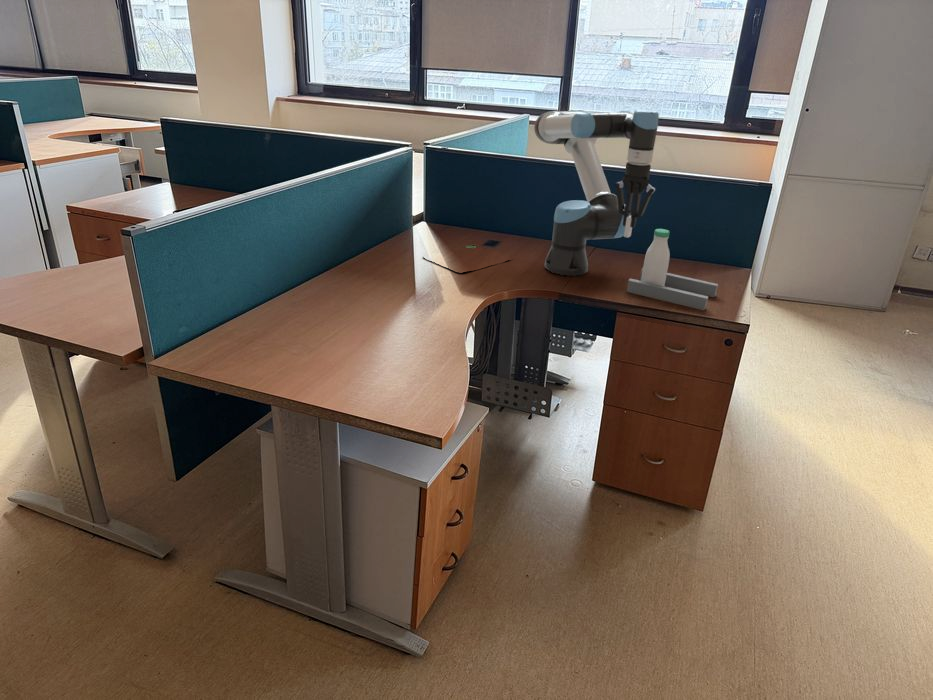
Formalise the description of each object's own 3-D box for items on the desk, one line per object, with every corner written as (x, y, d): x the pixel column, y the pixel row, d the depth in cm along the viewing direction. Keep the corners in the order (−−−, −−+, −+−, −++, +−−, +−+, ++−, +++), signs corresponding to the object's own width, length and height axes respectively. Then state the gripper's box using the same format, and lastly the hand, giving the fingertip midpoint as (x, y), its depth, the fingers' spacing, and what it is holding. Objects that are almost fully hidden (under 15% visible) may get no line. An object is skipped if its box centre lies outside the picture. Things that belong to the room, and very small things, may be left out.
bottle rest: (626, 291, 212) (628, 280, 210) (641, 278, 224) (643, 267, 222) (704, 310, 201) (706, 298, 199) (715, 295, 212) (718, 284, 210)
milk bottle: (664, 294, 211) (675, 235, 202) (640, 292, 212) (650, 232, 203) (662, 286, 218) (673, 228, 209) (639, 283, 219) (649, 225, 210)
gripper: (614, 161, 202) (604, 235, 213) (655, 167, 196) (643, 243, 207) (622, 158, 208) (612, 229, 218) (663, 163, 202) (650, 237, 213)
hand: (627, 236), depth 213 cm, fingers closed
